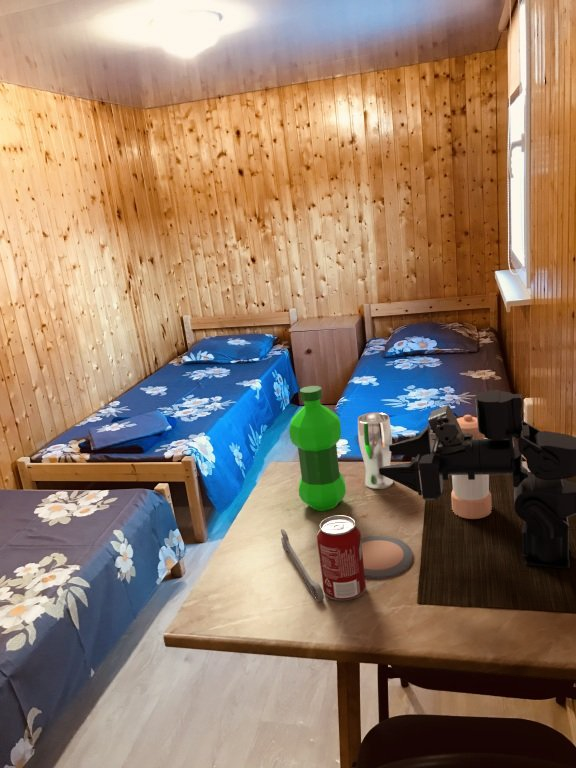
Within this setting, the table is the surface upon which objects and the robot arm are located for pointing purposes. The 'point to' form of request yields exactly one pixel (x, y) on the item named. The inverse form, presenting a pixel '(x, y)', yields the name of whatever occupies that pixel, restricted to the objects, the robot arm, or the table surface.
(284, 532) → the combination wrench
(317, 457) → the plastic bottle
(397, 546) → the coaster
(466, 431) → the pepper shaker
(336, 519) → the soda can
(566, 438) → the robot arm
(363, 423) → the beer glass
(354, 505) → the table surface
